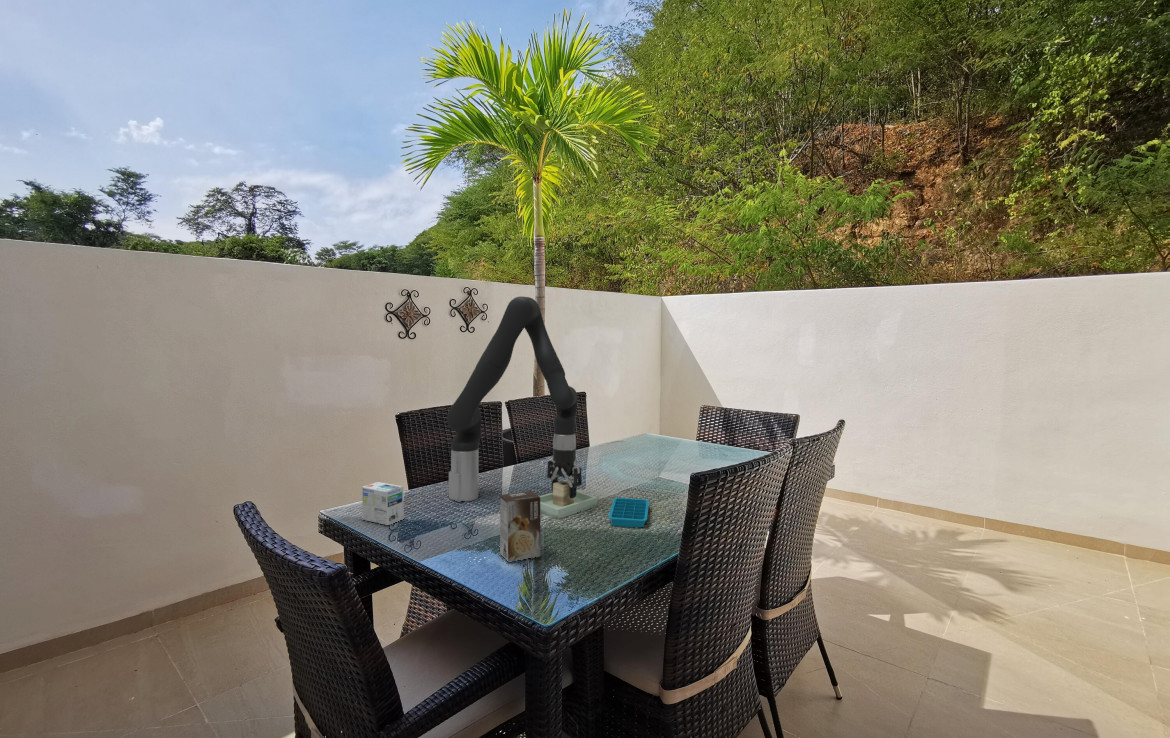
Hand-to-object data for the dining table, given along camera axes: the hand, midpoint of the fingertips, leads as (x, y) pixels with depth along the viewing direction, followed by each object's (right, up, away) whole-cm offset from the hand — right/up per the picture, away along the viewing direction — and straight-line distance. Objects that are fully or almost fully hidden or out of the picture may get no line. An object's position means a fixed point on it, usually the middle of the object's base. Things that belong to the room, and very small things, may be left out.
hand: (563, 494), depth 175 cm
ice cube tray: (+21, -6, -7) cm, 23 cm away
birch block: (0, -3, 0) cm, 3 cm away
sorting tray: (0, -4, 0) cm, 4 cm away
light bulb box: (-54, -5, -15) cm, 57 cm away
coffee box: (-10, -7, -38) cm, 40 cm away
